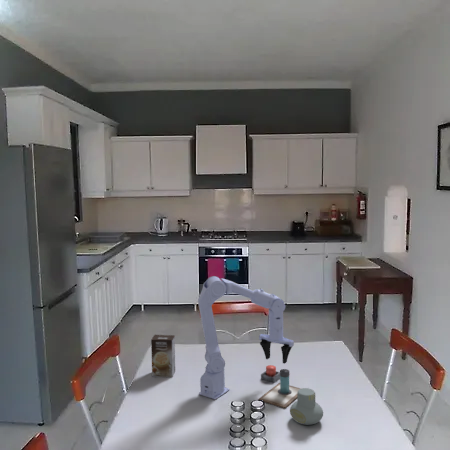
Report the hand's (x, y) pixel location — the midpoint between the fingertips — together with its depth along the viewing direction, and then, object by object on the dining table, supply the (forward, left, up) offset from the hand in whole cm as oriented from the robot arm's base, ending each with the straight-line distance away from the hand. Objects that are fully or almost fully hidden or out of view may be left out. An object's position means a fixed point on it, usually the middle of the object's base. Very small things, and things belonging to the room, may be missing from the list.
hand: (276, 360), depth 173 cm
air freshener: (-18, -21, -10) cm, 30 cm away
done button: (+4, +5, -8) cm, 10 cm away
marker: (-5, -6, -9) cm, 12 cm away
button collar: (+4, +5, -10) cm, 11 cm away
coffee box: (-17, +45, -10) cm, 49 cm away
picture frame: (-7, -6, -10) cm, 14 cm away
